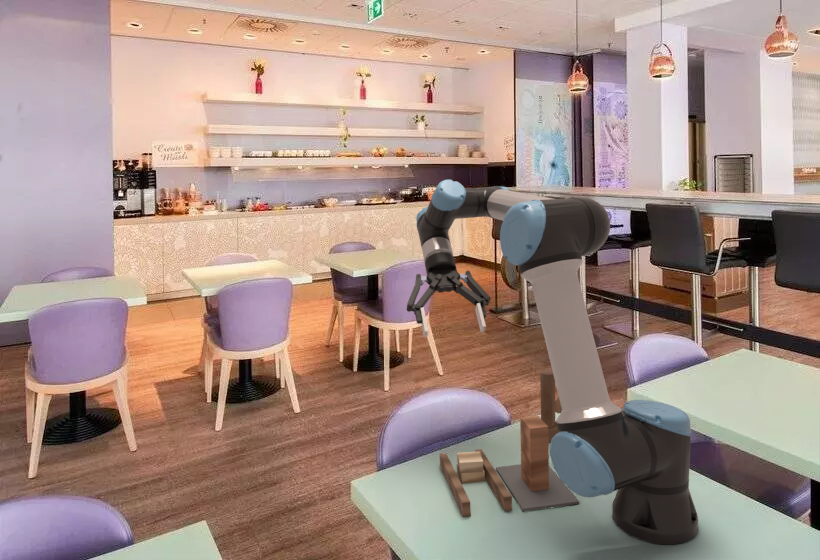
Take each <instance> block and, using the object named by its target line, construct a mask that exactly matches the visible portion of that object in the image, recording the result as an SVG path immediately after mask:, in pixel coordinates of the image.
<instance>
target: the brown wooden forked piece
mask: <svg viewBox="0 0 820 560" xmlns="http://www.w3.org/2000/svg"><path fill="white" fill-rule="evenodd" d="M539 374H540V379H539V381H540V382H539V383H540V384H539V385H540V387H539V388H540V419H541V420H542V421H543V422H544V423H545V424H546V425H547V426H548V436H549V443H551V440H552V438H553V437H554V436H555V435H556V434H557V433H559V431H558V427H557V423H556V414H559V415H560V413H561V411H562V407H561V403H560V399H559V396H558V397H557V399H556V383H555V379H554V375H553V371H552V369H544V370H541V371H540V373H539Z"/></svg>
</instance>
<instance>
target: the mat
mask: <svg viewBox="0 0 820 560" xmlns="http://www.w3.org/2000/svg"><path fill="white" fill-rule="evenodd" d="M551 467H552V466H550V465H549V489H544V490H536V491H530V489H529V488H528V486H527V485H526V484H525V482H524V481H523V479H522V478H521V463H518V464H512V465H504V466H496V467H495V471H496V472H497V474H498V476H499V477H500V479H501V480H502V482H503V483H504V485H505V487H506V488H507V490H508V491H509V493H510V494H511V496H512V497H513V499H514V500H515V501H516V504H517V505H518V507H519V508H520V510H521V511H522V512H530V511H537V510H538V511H539V510H545V508H546V509H552V508H551V507H553V508H560V507H567V506H573V505H574V504H575V505H579V504H580V500H579V499H578V498H577V496H575V494H574V492H573V491H571V490H570V489H569V488H568V487H567V485H566V484H564V483H563V482H562V480H561V479H560V477H559V476H558V474H557V472H556V471H554V470H553V468H551ZM575 505H574V506H575Z"/></svg>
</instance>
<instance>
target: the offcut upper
mask: <svg viewBox="0 0 820 560" xmlns="http://www.w3.org/2000/svg"><path fill="white" fill-rule="evenodd" d="M456 458H457V460H456V462H457V463H456V464H458V467H459V471H460V473H475V472H483V460H482V457H481V454H480V451H479V452H475V451H466V452H465V451H464V452H463V451H462V452H457V453H456Z"/></svg>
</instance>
